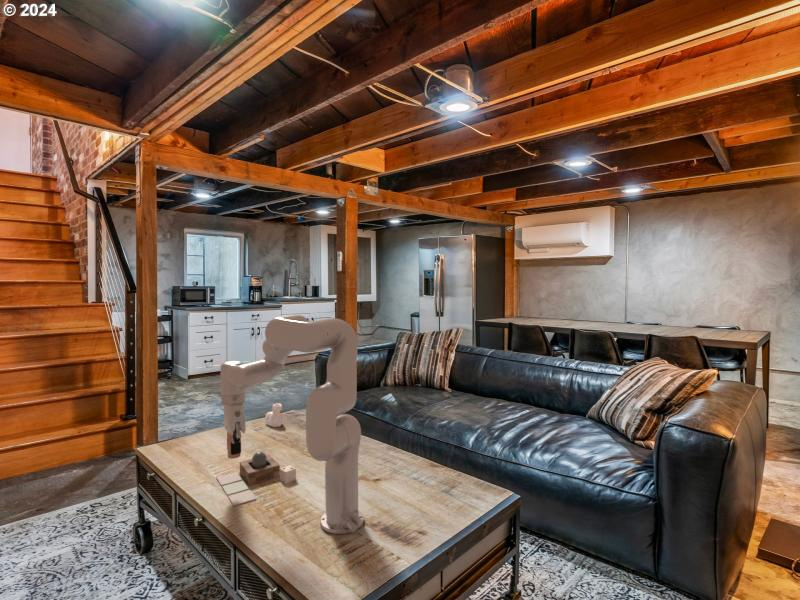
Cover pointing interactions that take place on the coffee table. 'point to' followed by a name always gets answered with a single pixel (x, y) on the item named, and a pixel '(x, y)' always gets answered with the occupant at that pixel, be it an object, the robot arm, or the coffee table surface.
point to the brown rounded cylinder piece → (230, 447)
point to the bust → (275, 416)
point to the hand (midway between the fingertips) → (234, 450)
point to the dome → (259, 460)
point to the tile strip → (236, 489)
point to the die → (287, 473)
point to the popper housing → (259, 471)
